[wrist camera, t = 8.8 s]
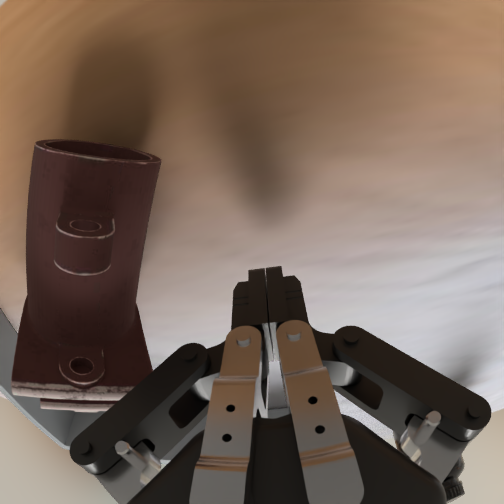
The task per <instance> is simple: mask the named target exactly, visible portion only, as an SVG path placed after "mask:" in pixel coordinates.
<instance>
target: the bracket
mask: <svg viewBox="0 0 504 504" xmlns="http://www.w3.org/2000/svg"><path fill="white" fill-rule="evenodd" d="M160 165H161V159H160V158H159V157H157V156H154V155H152V154H149V153H146V152H142V151H138V150H135V149H130V148H125V147H120V146H115V145H110V144H104V143H97V142H89V141H79V140H61V139H53V140H41V141H37V142H35V147H34V153H33V160H32V167H31V176H30V185H29V195H28V209H27V229H26V273H27V294H28V295H27V297H26V300H25V304H24V308H23V313H22V317H21V322H20V327H19V332H18V337H17V343H16V349H15V355H14V361H13V369H12V377H11V390H12V394H13V395H18V396H27V397H38V398H40V406H41V408H42V409H56V410H74V411H75V412H98V411H107V410H108V409H109V408H111V407H112V406H113V405H114V404H115V403H117V402H118V401H119V400H120V399H121V398H122V397H124V396H125V395H126V394H127V393H128V392H129V391H130V390H132V389H133V388H134V387H135V386H136V385H137V384H139V383H140V382H141V381H142V380H143V379H144V378H145V377H147V376H148V375H149V374H150V373H151V372H152V371H153V369H152V365H151V361H150V357H149V354H148V350H147V346H146V341H145V337H144V333H143V329H142V324H141V320H140V315H139V311H138V307H137V304H136V296H137V289H138V281H139V275H140V268H141V261H142V255H143V249H144V243H145V237H146V232H147V226H148V221H149V216H150V211H151V206H152V201H153V196H154V191H155V187H156V182H157V178H158V173H159V169H160Z"/></svg>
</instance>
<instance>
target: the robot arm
mask: <svg viewBox="0 0 504 504" xmlns="http://www.w3.org/2000/svg"><path fill="white" fill-rule="evenodd" d="M266 280H267V282H266ZM272 341H273V342H272ZM273 348H274V354H275V361H280V369H281V376H282V382H283V387H284V392H285V398H286V403H287V409H288V415H285V416H282V417H279V418H275V419H270V418H268V390H269V362H273V361H274V355H273ZM334 390H335V391H337V392H338V393H340V394H341V395H342V396H344V397H345V398H347V399H348V400H349V401H351V402H352V403H354V404H355V405H357V406H358V407H359V408H361V409H362V410H364V411H365V412H367V413H368V414H370V415H371V416H372V417H374V418H375V419H377V420H378V421H380V422H381V423H383V424H384V425H386V426H387V427H389V428H390V429H392V430H393V431H395V432H396V433H398V434H399V435H401V447H402V449H403V451H404V452H405V453H406V454H407V455H408V456H409V457H410V458H411V459H409V458H408V457H407V456H405V455H404V454H402V453H401V452H400V451H398V450H397V449H396V448H394V447H393V446H391V445H390V444H389V443H387V442H386V441H385V440H383V439H382V438H381V437H379V436H378V435H377V434H375V433H374V432H373V431H371V430H370V429H369V428H367V427H366V426H365V425H363V424H362V423H361V422H359V421H358V420H356V419H354V418H352V417H349V416H347V415H343V414H341V412H340V409H339V406H338V402H337V399H336V396H335V392H334ZM206 415H207V420H206V425H205V429H204V430H202V431H201V432H199V433H198V434H196V435H195V436H194V437H193V438H192V439H191V440H190V441H189V442H188V443H187V444H186V445H185V446H184V447H183V448H182V449H181V450H180V451H179V452H178V454H177V455H176V456H175V457H174V458H173V459H172V460H171V461H170V462H169V463H168V464H167V465H166V466H165V467H164V468H163V469H162V470H161V462H160V460H161V459H162V458H163V457H164V456H165V455H166V454H167V453H168V452H169V451H170V450H172V449H173V448H174V447H175V446H176V445H177V444H178V443H179V442H180V441H181V440H182V439H183V438H184V437H185V436H186V435H187V434H188V433H189V432H190V431H191V430H192V429H193V428H194V427H195V426H196V425H197V424H198V423H199V422H200V421H201V420H202V419H203V418H204V417H205V416H206ZM490 418H491V408H490V405H489V403H488V402H487V401H486V400H485V399H484V398H483V397H481V396H479V395H477V394H476V393H474V392H472V391H470V390H468V389H467V388H465V387H463V386H461V385H460V384H458V383H456V382H454V381H453V380H451V379H449V378H447V377H446V376H444V375H442V374H440V373H438V372H437V371H435V370H433V369H431V368H430V367H428V366H426V365H424V364H423V363H421V362H419V361H417V360H416V359H414V358H412V357H410V356H409V355H407V354H405V353H404V352H402V351H400V350H398V349H397V348H395V347H393V346H391V345H390V344H388V343H386V342H384V341H383V340H381V339H379V338H377V337H376V336H374V335H372V334H371V333H369V332H367V331H365V330H364V329H362V328H360V327H357V326H345V327H342V328H340V329H339V330H337V331H336V332H335V334H329V333H322V332H319V331H317V330H315V329H314V328H312V327H311V325H310V324H309V321H308V317H307V312H306V307H305V302H304V298H303V293H302V288H301V283H300V281H299V280H298V279H297V278H296V277H295V276H286V277H283V274H282V267H281V266H277V267H269V268H266V275H265V269H264V268H262V269H254V270H249V281H246V282H238V284H237V285H236V287H235V289H234V291H233V308H232V326H231V331H230V332H229V333H228V335H227V337H226V340H225V341H224V342H222V343H221V344H219V345H217V346H214V347H211V348H208V349H206V348H205V347H204V346H203V345H201V344H198V343H189V344H186V345H183V346H181V347H180V348H179V349H177V350H176V351H175V352H174V353H173V354H172V355H171V356H170V357H168V358H167V359H166V360H165V361H164V362H163V363H162V364H160V365H159V366H158V367H157V368H156V369H155V370H154V371H152V372H151V373H150V374H149V375H148V376H147V377H145V378H144V379H143V380H142V381H141V382H140V383H139V384H137V385H136V386H135V387H134V388H133V389H132V390H130V391H129V392H128V393H127V394H126V395H125V396H124V397H122V398H121V399H120V400H119V401H118V402H117V403H115V404H114V405H113V406H112V407H111V408H109V409H108V410H107V411H106V412H105V413H104V414H102V415H101V416H100V417H99V418H98V419H97V420H95V421H94V422H93V423H92V424H91V425H89V426H88V427H87V428H86V429H85V430H83V431H82V432H81V433H80V434H79V435H77V436H76V437H75V438H74V439H73V441H72V443H71V445H70V456H71V458H72V459H73V461H74V462H75V463H77V464H78V465H80V466H81V467H82V468H84V469H85V470H86V471H87V472H88V473H90V474H91V475H93V476H94V477H96V478H97V479H98V480H99V481H100V483H101V484H102V485H103V486H104V488H105V489H106V490H107V491H108V492H109V493H110V494H111V496H112V497H113V498H114V499H115V500H116V501H117V502H118V503H119V504H446V503H447V499H446V493H445V489H444V487H443V485H442V482H443V481H444V480H445V478H446V477H447V475H448V474H449V472H450V471H451V469H452V468H453V466H454V465H455V463H456V462H457V460H458V459H459V457H460V456H461V454H462V452H463V451H464V449H465V448H466V446H467V445H468V444H469V443H470V442H471V441H472V440H473V439H474V438H475V437H476V436H477V435H478V434H479V433H480V432H481V431H482V429H483V428H484V427H485V426H486V425H487V424H488V422H489V420H490ZM160 470H161V471H160Z"/></svg>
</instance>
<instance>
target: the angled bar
mask: <svg viewBox="0 0 504 504" xmlns="http://www.w3.org/2000/svg"><path fill="white" fill-rule="evenodd" d="M17 337H18V334H17V333H16V332H15V330H14V329H13V327H12V326H11V324H10V323H9V321H8V320H7V318H6V317H5V315H4V313H3V312H2V310H1V309H0V391H1V392H2V393H3V394H4V395H5V396H6V398H7V399H8V400H9V401H10V402H11V403H12V404H13V405H14V406H15V407H16V408H18V410H20V411H21V412H22V413H23V414H24V415H25V416H26V417H27V418H28V419H29V420H30V421H31V422H32V423H34V424H35V425H36V426H37V427H38V428H39V429H40V430H41V431H42V432H43V433H45V434H46V435H47V436H48V437H49V438H51V439H52V440H53V441H54V442H55V443H57V444H58V445H59V446H60V447H62V448H63V449H67V450H70V445H71V443H72V441H73V439H74V438H75V437H76V436H77V435H79V434H80V433H81V432H82V431H83V430H85V429H86V428H87V427H88V426H89V425H91V424H92V423H93V422H94V421H95V420H97V419H98V418H99V417H100V416H101V415H102V414H104V413H105V412H106V411H98V412H75V411H74V410H56V409H42V408H41V406H40V398H38V397H27V396H18V395H13V394H12V390H11V377H12V369H13V361H14V355H15V349H16V343H17ZM285 415H288V409H287V408H280V409H271V410H268V418H270V419H275V418H279V417H282V416H285ZM206 420H207V415H206V416H205V417H204V418H203V419H202V420H201V421H200V422H199V423H198V424H197V425H196V426H195V427H194V428H193V429H192V430H191V431H190V432H189V433H188V434H187V435H186V436H185V437H184V438H183V439H182V440H181V441H180V442H179V443H178V444H177V445H176V446H175V447H174V448H173V449H172V450H170V451H169V452H168V453H167V454H166V455H165V456H164V457H163V458H162V459H161V460H160V462H161V464H168V463H169V462H170V461H171V460H172V459H173V458H174V457H175V456H176V455H177V454H178V452H179V451H180V450H181V449H182V448H183V447H184V446H185V445H186V444H187V443H188V442H189V441H190V440H191V439H192V438H193V437H194V436H195V435H196V434H198V433H199V432H201V431H202V430H204V429H205V425H206Z"/></svg>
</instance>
